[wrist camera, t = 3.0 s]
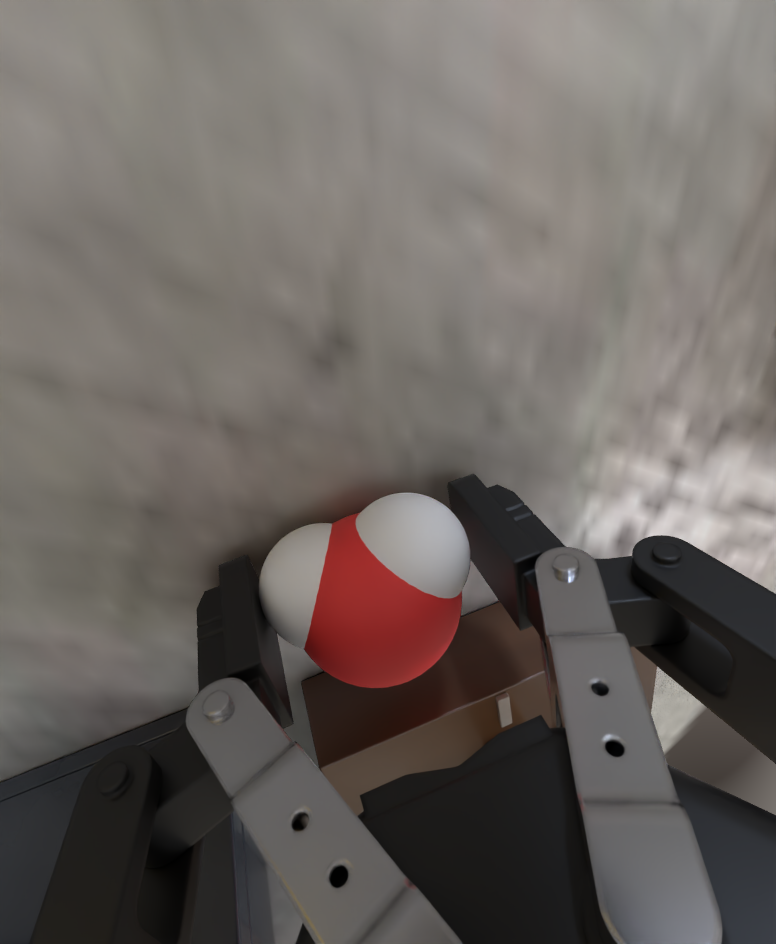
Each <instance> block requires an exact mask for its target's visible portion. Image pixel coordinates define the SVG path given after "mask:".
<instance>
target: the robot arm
mask: <svg viewBox="0 0 776 944" xmlns="http://www.w3.org/2000/svg"><path fill="white" fill-rule="evenodd" d="M447 488H448V495H449V501H450V507H451V511H452V512H453V513H454V514H455V516H456V517H457V518H458V520H459V521H460V523H461V524H462V526H463V528H464V530H465V533H466V535H467V538H468V541H469V546H470V559H471V560H472V562H473V563H474V565H475V566H476V567H477V569H478V570H479V572H480V573H481V575H482V576H483V578H484V579H485V581H486V582H487V583H488V585H489V586H490V588H491V589H492V591H493V592H494V594H495V595H496V596H497V598H498V599H499V601H500V602H501V604H502V605H503V607H504V608H505V610H506V611H507V612H508V614H509V615H510V617H511V618H512V620H513V621H514V623H515V624H516V625H517V627H518V628H519V630H520V631H522V630H524V629H527V628H529V627H531V626H533V627H534V628H535V629H536V631H537V632H538V634H539V638H540V649H541V655H542V661H543V667H544V674H545V680H546V686H547V693H548V699H549V705H550V712H551V720H552V728H549V726H548V725H547V723H546V722H545V720H544V718H543V717H542V715H539V716H537V717H535V718H533V719H530V720H528V721H526V722H524V723H521V724H519V725H517V726H515V727H512V728H510V729H508V730H506V731H503V732H501V733H499V734H497V735H496V736H495V737H494V738H493V739H491V740H490V741H489V742H488V743H486V744H485V745H484V746H483V747H482V748H480V749H479V750H478V751H477V752H475V753H474V754H473V755H472V756H471V757H469V758H468V759H467V760H466V761H464V762H463V763H462V764H460V765H459V766H456V767H452V768H445V769H439V770H432V771H426V772H420V773H413V774H407V775H404V776H402V777H400V778H397V779H395V780H393V781H391V782H388V783H386V784H384V785H381V786H379V787H377V788H375V789H372V790H370V791H368V792H366V793H363V794H361V795H360V799H361V802H362V806H363V810H364V811H363V812H361V813H360V814H359V815H358V816H357V815H356V814H355V813H354V812H353V811H352V809H351V808H350V807H349V806H348V804H347V803H346V802H345V801H344V799H343V798H342V797H341V796H340V794H339V793H338V792H337V791H336V789H335V788H334V787H333V786H332V785H331V783H330V782H329V781H328V780H327V778H326V777H325V776H324V775H323V773H322V772H321V771H320V770H319V768H318V767H317V766H316V765H315V763H314V762H313V761H312V760H311V759H310V757H309V756H308V755H307V754H306V752H305V751H304V750H303V749H302V748H301V746H300V745H299V744H298V743H297V742H293V741H292V740H291V739H290V738H289V737H288V735H287V734H286V733H285V732H284V730H283V728H285V727H288V726H290V725H293V724H294V723H293V718H292V712H291V707H290V702H289V696H288V691H287V685H286V680H285V675H284V669H283V664H282V659H281V653H280V648H279V642H278V637H277V632H276V631H275V630H274V629H273V628H272V627H271V625H270V624H269V622H268V621H267V619H266V617H265V615H264V613H263V610H262V607H261V603H260V598H259V578H258V576H257V574H256V571H255V569H254V567H253V565H252V563H251V561H250V559H249V557H248V556H247V555H245V556H243V557H240V558H237V559H234V560H232V561H229V562H226V563H223V564H220V565H219V582H220V586H218V587H215V588H212V589H210V590H207V591H205V592H204V594H203V596H202V598H201V601H200V603H199V605H198V607H197V626H198V628H197V638H198V685H199V691H198V694H197V695H196V696H195V698H194V699H193V700H192V702H191V704H190V706H189V708H188V710H187V714H186V720H185V722H184V723H183V724H182V725H181V726H180V727H179V728H178V729H177V730H175V731H174V732H173V733H172V734H170V735H169V736H167V737H166V738H165V739H163V740H162V741H160V742H159V743H158V744H156V745H155V746H154V747H152V748H151V749H149V750H148V751H147V750H146V749H145V748H143V747H141V746H137V745H128V746H123V747H120V748H118V749H116V750H114V751H112V752H110V753H109V754H107V755H106V756H104V757H103V758H102V759H101V760H100V761H99V762H98V763H96V764H95V766H94V767H93V768H92V769H91V770H90V772H89V773H88V775H87V776H86V778H85V780H84V781H83V783H82V786H81V788H80V791H79V794H78V797H77V800H76V803H75V806H74V809H73V812H72V815H71V818H70V821H69V824H68V827H67V830H66V833H65V836H64V839H63V842H62V845H61V848H60V851H59V855H58V858H57V861H56V864H55V867H54V870H53V873H52V876H51V879H50V882H49V885H48V888H47V891H46V894H45V897H44V900H43V903H42V906H41V909H40V912H39V915H38V918H37V921H36V924H35V927H34V930H33V933H32V936H31V939H30V942H29V944H191V939H192V932H193V924H194V917H195V910H196V902H197V895H198V887H199V880H200V873H201V865H202V858H203V850H204V843H205V836H206V834H207V833H208V832H209V831H210V830H212V829H213V828H214V827H215V826H216V825H218V824H219V823H220V822H221V821H222V820H224V819H225V818H226V817H227V816H229V815H230V814H231V813H232V812H233V811H235V812H236V813H237V815H238V817H239V818H240V820H241V822H242V823H243V825H244V827H245V828H246V830H247V832H248V833H249V835H250V836H251V838H252V840H253V841H254V843H255V845H256V846H257V848H258V850H259V851H260V853H261V855H262V856H263V858H264V859H265V861H266V863H267V864H268V866H269V868H270V869H271V871H272V873H273V874H274V876H275V878H276V879H277V881H278V883H279V884H280V886H281V887H282V889H283V891H284V892H285V894H286V896H287V897H288V899H289V901H290V902H291V904H292V906H293V907H294V909H295V911H296V912H297V914H298V915H299V917H300V919H301V920H302V922H303V923H302V926H301V929H300V932H299V935H298V938H297V941H296V943H295V944H776V815H774V814H772V813H769V812H768V811H765V810H763V809H761V808H759V807H757V806H755V805H753V804H751V803H748V802H746V801H744V800H742V799H740V798H738V797H736V796H734V795H731V794H729V793H727V792H725V791H723V790H721V789H719V788H716V787H714V786H712V785H710V784H708V783H706V782H704V781H702V780H699V779H698V778H695V777H693V776H691V775H689V774H687V773H685V772H683V771H681V770H678V769H676V768H674V767H672V766H670V765H668V764H667V762H666V759H665V756H664V753H663V750H662V747H661V743H660V740H659V737H658V734H657V731H656V728H655V725H654V721H653V718H652V715H651V712H650V709H649V706H648V703H647V699H646V696H645V693H644V690H643V687H642V684H641V681H640V677H639V674H638V671H637V668H636V665H635V662H634V659H633V655H632V652H631V649H630V647H635V648H636V649H637V650H638V651H639V652H641V653H642V654H643V655H644V656H645V657H647V658H648V659H649V660H650V661H652V662H653V663H654V664H655V665H656V666H658V667H659V668H660V669H661V670H662V671H664V672H665V673H666V674H667V675H669V676H670V677H671V678H672V679H673V680H675V681H676V682H677V683H678V684H679V685H681V686H682V687H683V688H684V689H685V690H687V691H688V692H689V693H690V694H692V695H693V696H694V697H695V698H696V699H698V700H699V701H700V702H701V703H702V704H704V705H705V706H706V707H707V708H709V709H710V710H711V711H712V712H713V713H715V714H716V715H717V716H718V717H719V718H721V719H722V720H723V721H724V722H726V723H727V724H728V725H729V726H731V727H732V728H733V729H734V730H735V731H737V732H738V733H739V734H740V735H741V736H743V737H744V738H745V739H746V740H747V741H749V742H750V743H751V744H752V745H754V746H755V747H756V748H757V749H758V750H760V751H761V752H762V753H763V754H764V755H766V756H767V757H768V758H769V759H770V760H772V761H773V762H774V763H775V764H776V594H775V593H773V592H771V591H770V590H768V589H766V588H764V587H763V586H761V585H759V584H758V583H756V582H754V581H752V580H751V579H749V578H747V577H746V576H744V575H742V574H741V573H739V572H737V571H735V570H734V569H732V568H730V567H729V566H727V565H725V564H723V563H722V562H720V561H718V560H717V559H715V558H713V557H711V556H710V555H708V554H706V553H705V552H703V551H701V550H700V549H698V548H696V547H694V546H693V545H691V544H689V543H688V542H686V541H684V540H681V539H678V538H675V537H671V536H651V537H648V538H645V539H643V540H641V541H639V542H638V543H637V544H636V545H635V547H634V549H633V553H632V556H628V557H619V558H611V559H593V558H592V557H591V556H590V555H589V554H588V553H586V552H584V551H582V550H579V549H576V548H572V547H565V546H564V545H563V544H562V543H561V541H560V540H559V539H558V538H557V537H556V536H555V535H554V534H553V533H552V532H551V531H550V530H549V529H548V528H547V527H546V526H545V525H544V524H543V523H542V521H541V520H540V519H539V518H538V517H537V516H536V515H535V514H533V512H532V511H531V510H530V509H529V508H528V507H527V506H526V505H524V502H523V501H522V500H521V499H520V498H519V497H518V496H517V495H516V494H515V493H514V492H513V491H510V490H508V489H506V488H504V487H502V486H499V485H495V486H492V487H489V488H486V487H485V485H484V484H483V483H482V482H481V481H480V480H479V479H478V478H477V476H476V475H474V474H471V475H469V476H466V477H463V478H460V479H457V480H455V481H452V482H449V483H448V485H447Z"/></svg>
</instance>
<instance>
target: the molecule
mask: <svg viewBox="0 0 776 944" xmlns="http://www.w3.org/2000/svg"><path fill="white" fill-rule="evenodd" d="M469 569H470V546H469V541H468V538H467V535H466V533H465V530H464V528H463V526H462V524H461V523H460V521H459V520H458V518H457V517H456V516H455V514H454V513H453V512H452V511H451V510H450V509H449V508H447V507H446V506H445V505H443V504H442V503H441V502H439V501H437V500H435V499H433V498H431V497H428V496H426V495H422V494H417V493H396V494H391V495H388V496H385V497H382V498H380V499H378V500H376V501H374V502H372V503H371V504H370V505H368V506H367V507H366V508H365V509H364V510H363V511H362V512H361V513H357V514H353V515H350V516H347V517H345V518H342V519H340V520H338V521H336V522H334V523H332V524H330V523H317V524H310V525H306V526H303V527H300V528H298V529H296V530H294V531H292V532H290V533H289V534H287V535H286V536H285V537H283V538H282V539H281V540H280V541H279V542H278V543H277V544H276V545H275V546H274V547H273V549H272V550H271V551H270V553H269V554H268V556H267V558H266V560H265V562H264V564H263V567H262V570H261V574H260V580H259V598H260V603H261V607H262V610H263V613H264V615H265V617H266V619H267V621H268V622H269V624H270V625H271V627H272V628H273V629H274V630H275V631H276V632H277V633H278V634H279V635H280V636H281V637H282V638H283V639H285V640H286V641H288V642H289V643H291V644H293V645H295V646H297V647H300V648H303V649H304V650H305V651H306V653H307V654H308V655H309V656H310V658H311V659H312V660H313V661H314V662H315V663H316V664H317V665H318V666H319V667H320V668H321V669H323V670H324V671H326V672H327V673H328V674H330V675H331V676H333V677H335V678H337V679H339V680H341V681H343V682H345V683H348V684H352V685H355V686H359V687H366V688H386V687H391V686H395V685H400V684H403V683H405V682H408V681H410V680H412V679H414V678H416V677H418V676H420V675H421V674H423V673H424V672H425V671H427V670H428V669H429V668H431V667H432V666H433V665H434V664H435V663H436V662H437V661H438V660H439V659H440V658H441V656H442V655H443V654H444V652H445V651H446V650H447V648H448V647H449V645H450V643H451V641H452V639H453V637H454V635H455V632H456V630H457V627H458V623H459V620H460V616H461V606H462V592H461V590H462V588H463V587H464V585H465V582H466V580H467V577H468V573H469Z"/></svg>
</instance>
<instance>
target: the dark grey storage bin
mask: <svg viewBox="0 0 776 944" xmlns="http://www.w3.org/2000/svg"><path fill="white" fill-rule="evenodd" d="M187 710H188V709H185V710H183V711H180V712H178V713H175V714H172V715H170V716H167V717H165V718H162V719H160V720H157V721H155V722H152V723H150V724H147V725H145V726H142V727H140V728H137V729H135V730H132V731H130V732H127V733H125V734H122V735H120V736H117V737H115V738H112V739H110V740H107V741H105V742H102V743H99V744H97V745H94V746H92V747H89V748H87V749H84V750H82V751H79V752H77V753H74V754H72V755H69V756H67V757H64V758H62V759H59V760H57V761H54V762H52V763H49V764H47V765H44V766H42V767H39V768H37V769H34V770H32V771H29V772H27V773H24V774H21V775H19V776H16V777H14V778H11V779H9V780H6V781H4V782H1V783H0V944H29V942H30V939H31V936H32V933H33V930H34V927H35V924H36V921H37V918H38V915H39V912H40V909H41V906H42V903H43V900H44V897H45V894H46V891H47V888H48V885H49V882H50V879H51V876H52V873H53V870H54V867H55V864H56V861H57V858H58V855H59V851H60V848H61V845H62V842H63V839H64V836H65V833H66V830H67V827H68V824H69V821H70V818H71V815H72V812H73V809H74V806H75V803H76V800H77V797H78V794H79V791H80V788H81V786H82V783H83V781H84V780H85V778H86V776H87V775H88V773H89V772H90V770H91V769H92V768H93V767H94V766H95V764H96V763H98V762H99V761H100V760H101V759H102V758H103V757H104V756H106V755H107V754H109V753H110V752H112V751H114V750H116V749H118V748H120V747H123V746H128V745H137V746H141V747H143V748H145V749H146V750H147V751H148V750H149V749H151V748H152V747H154V746H155V745H156V744H158V743H159V742H160V741H162V740H163V739H165V738H166V737H167V736H169V735H170V734H172V733H173V732H174V731H175V730H177V729H178V728H179V727H180V726H181V725H182V724H183V723H184V722H185V720H186V714H187ZM302 923H303V922H302V920H301V919H300V917H299V915H298V914H297V912H296V911H295V909H294V907H293V906H292V904H291V902H290V901H289V899H288V897H287V896H286V894H285V892H284V891H283V889H282V887H281V886H280V884H279V883H278V881H277V879H276V878H275V876H274V874H273V873H272V871H271V869H270V868H269V866H268V864H267V863H266V861H265V859H264V858H263V856H262V855H261V853H260V851H259V850H258V848H257V846H256V845H255V843H254V841H253V840H252V838H251V836H250V835H249V833H248V832H247V830H246V828H245V827H244V825H243V823H242V822H241V820H240V818H239V817H238V815H237V813H236V812H235V811H233V812H232V813H231V814H230V815H229V816H227V817H226V818H225V819H224V820H222V821H221V822H220V823H219V824H218V825H216V826H215V827H214V828H213V829H212V830H210V831H209V832H208V833H207V834H206V836H205V843H204V850H203V858H202V865H201V873H200V880H199V887H198V895H197V902H196V910H195V917H194V924H193V932H192V939H191V944H295V943H296V941H297V938H298V935H299V932H300V929H301V926H302Z"/></svg>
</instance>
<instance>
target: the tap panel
mask: <svg viewBox="0 0 776 944" xmlns="http://www.w3.org/2000/svg"><path fill="white" fill-rule="evenodd" d="M630 649H631V652H632V655H633V659H634V662H635V665H636V668H637V671H638V674H639V677H640V681H641V684H642V687H643V690H644V693H645V696H646V699H647V703H648V706H649V709H650V712H651V708H652V701H653V693H654V686H655V678H656V670H657V666H656V665H655V664H654V663H653V662H652V661H650V660H649V659H648V658H647V657H645V656H644V655H643V654H642V653H641V652H639V651H638V650H637V649H636V648H635V647H630ZM301 685H302V689H303V694H304V699H305V703H306V708H307V713H308V717H309V722H310V727H311V732H312V736H313V741H314V746H315V750H316V755H317V760H318V764H319V769H320V771H321V772H322V773H323V775H324V776H325V777H326V778H327V780H328V781H329V782H330V783H331V785H332V786H333V787H334V788H335V789H336V791H337V792H338V793H339V794H340V796H341V797H342V798H343V799H344V801H345V802H346V803H347V804H348V806H349V807H350V808H351V809H352V811H353V812H354V813H355V814H356V815H357V816H358V815H359V814H360V813H361V812H363V811H364V810H363V806H362V802H361V799H360V795H361V794H363V793H366V792H368V791H370V790H372V789H375V788H377V787H379V786H381V785H384V784H386V783H388V782H391V781H393V780H395V779H397V778H400V777H402V776H404V775H407V774H413V773H420V772H426V771H432V770H439V769H445V768H452V767H456V766H459V765H460V764H462V763H463V762H464V761H466V760H467V759H468V758H469V757H471V756H472V755H473V754H474V753H475V752H477V751H478V750H479V749H480V748H482V747H483V746H484V745H485V744H486V743H488V742H489V741H490V740H491V739H493V738H494V737H495V736H496V735H497V734H499V733H501V732H503V731H506V730H508V729H510V728H512V727H515V726H517V725H519V724H521V723H524V722H526V721H528V720H530V719H533V718H535V717H537V716H539V715H542V717H543V718H544V720H545V722H546V723H547V725H548V726H549V728H552V720H551V712H550V705H549V699H548V693H547V686H546V680H545V674H544V667H543V661H542V655H541V649H540V638H539V634H538V632H537V631H536V629H535V628H534V627H533V626H531V627H529V628H527V629H524V630H522V631H520V630H519V628H518V627H517V625H516V624H515V623H514V621H513V620H512V618H511V617H510V615H509V614H508V612H507V611H506V610H505V608H504V607H503V605H502V604H501V602H498V603H495V604H493V605H490V606H488V607H486V608H483V609H481V610H478V611H476V612H473V613H471V614H468V615H466V616H463V617H461V618H460V620H459V623H458V627H457V630H456V632H455V635H454V637H453V639H452V641H451V643H450V645H449V647H448V648H447V650H446V651H445V652H444V654H443V655H442V656H441V658H440V659H439V660H438V661H437V662H436V663H435V664H434V665H433V666H432V667H431V668H429V669H428V670H427V671H425V672H424V673H423V674H421V675H420V676H418V677H416V678H414V679H412V680H410V681H408V682H405V683H403V684H400V685H395V686H391V687H386V688H366V687H359V686H355V685H352V684H348V683H345V682H343V681H341V680H339V679H337V678H335V677H333V676H331V675H330V674H328V673H327V672H324V673H322V674H319V675H317V676H314V677H312V678H309V679H307V680H304V681H302V683H301Z"/></svg>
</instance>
